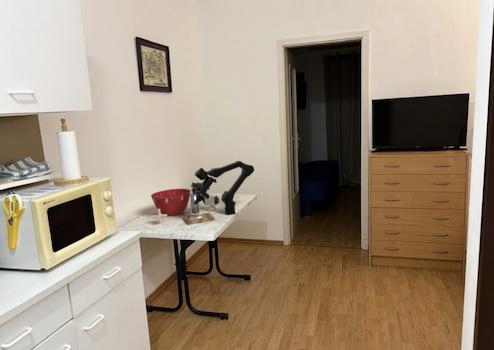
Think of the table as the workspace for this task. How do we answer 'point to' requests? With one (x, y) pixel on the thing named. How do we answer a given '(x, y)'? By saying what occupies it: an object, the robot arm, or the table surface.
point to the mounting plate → (199, 218)
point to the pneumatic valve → (211, 202)
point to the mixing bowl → (171, 201)
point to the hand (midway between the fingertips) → (192, 203)
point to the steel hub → (194, 206)
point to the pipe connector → (159, 216)
